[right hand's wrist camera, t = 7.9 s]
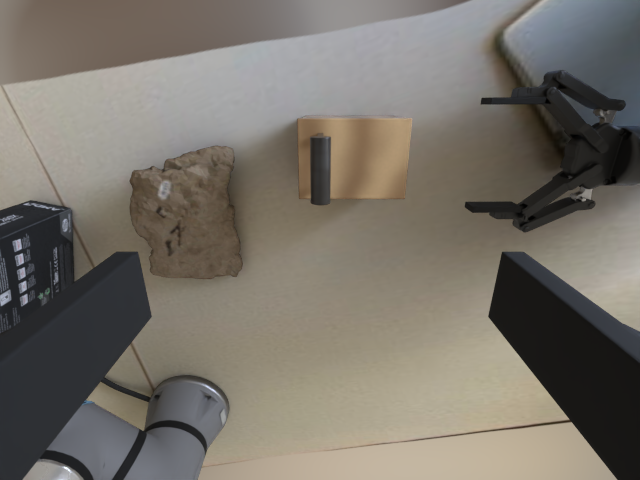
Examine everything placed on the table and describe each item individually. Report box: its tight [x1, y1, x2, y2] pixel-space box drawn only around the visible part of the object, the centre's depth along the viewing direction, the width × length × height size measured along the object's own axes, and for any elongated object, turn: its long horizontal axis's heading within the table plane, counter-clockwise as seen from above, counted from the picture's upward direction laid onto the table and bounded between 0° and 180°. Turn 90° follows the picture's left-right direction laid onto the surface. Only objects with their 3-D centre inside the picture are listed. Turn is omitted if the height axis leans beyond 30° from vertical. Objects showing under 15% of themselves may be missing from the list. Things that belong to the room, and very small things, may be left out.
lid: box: [297, 118, 412, 205], centre depth 38 cm, size 13×10×9 cm
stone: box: [130, 146, 243, 279], centre depth 51 cm, size 21×15×6 cm
